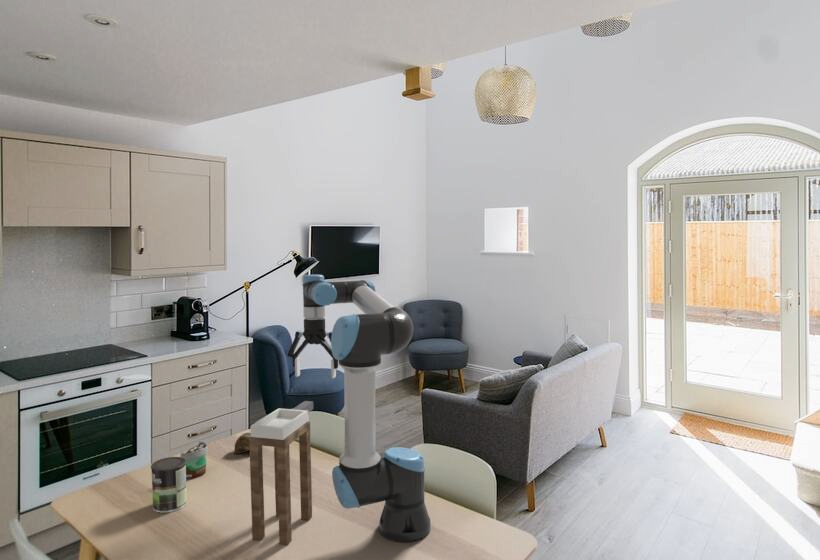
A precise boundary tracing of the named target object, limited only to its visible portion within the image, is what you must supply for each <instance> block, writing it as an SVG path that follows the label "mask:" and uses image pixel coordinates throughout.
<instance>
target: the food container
mask: <svg viewBox="0 0 820 560" xmlns="http://www.w3.org/2000/svg"><path fill="white" fill-rule="evenodd" d="M198 442H199V443H198V444H197V445H195V446H193V447H191V448H189V449H188V450H187V451H186V452H181V453H180V456H179V457H182V458H184V459H186V480H192V479H193V478H194V479H197V477H198V478H201V477H202V476H204V475H205V474H206V471H207V470H206V469H207V453H208V452H209V447H208V445H207V443H206V442H204V441H198Z"/></svg>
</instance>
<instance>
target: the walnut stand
mask: <svg viewBox="0 0 820 560" xmlns="http://www.w3.org/2000/svg"><path fill="white" fill-rule="evenodd" d="M296 440H298V441H299V445H298V447H299V451H298V452H299V482H300V486H299V488H300V491H299V492H300V521H305V522H306V521H307V522H309V521H310V520H311V519H312V518H313V500H312V499H313V497H312V496H313V495H312V494H313V493H312V492H313V491H312V490H313V488H312V457H311V456H312V455H311V454H312V452H311V451H312V450H311V449H312V448H311V421H308V422H306V423H305V424H304V425H302V426H301V427H300V428H298V429H297V430H296V431H294V432H293V433H292V434H290V435H289V436H288V437H286V438H285V439H284V440H278V439H268V438H257V437H249V446H250V450H249V470H250V471H249V473H250V474H249V475H250V503H251V505H250V506H251V535H252V541H255V542H256V541H257V542H261V541H262V540H263V539H264V538H265V537H266V535H265V534H266V528H265V495H264V490H265V489H264V462H263V461H264V460H263V457H264V456H263V447H271V448H273V454H274V455H273V457H274V460H273V461H274V488H275V491H274V492H275V493H274V494H275V496H274V497H275V517H277V518H278V534H279V535H278V539H279V540H278V541H279V543H278V544H279V545H283V546H289V545H290V543H291V542H292V541H293V538H292V537H293V535H292V506H291V505H292V501H291V499H292V497H291V495H292V494H291V461H290V460H291V459H290V445H291V444H292V443H293V442H295V441H296Z"/></svg>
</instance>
